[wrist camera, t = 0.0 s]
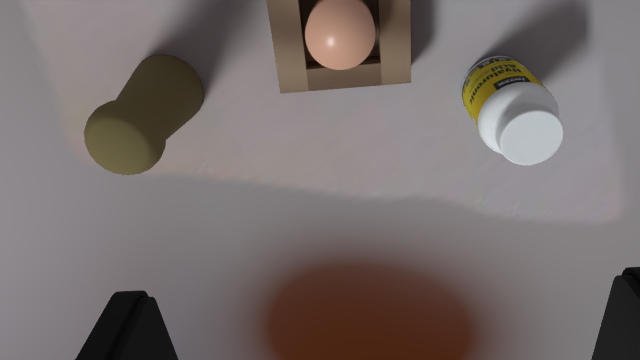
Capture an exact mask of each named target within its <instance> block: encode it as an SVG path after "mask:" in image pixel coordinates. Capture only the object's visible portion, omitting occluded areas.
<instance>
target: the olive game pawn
mask: <svg viewBox="0 0 640 360" xmlns="http://www.w3.org/2000/svg"><path fill="white" fill-rule="evenodd" d="M203 93H204V91H203V87H202V83H201V80H200V78H199V77H198V75H197V74H196V72H195V71H194V70H193V69H192V68H191V67H190V66H189V65H188V64H187V63H186V62H184V61H182V60H180V59H178V58H176V57H173V56H168V55H156V56H151V57H149V58H147V59H145V60H143V61H142V62H141V63H140V64H139V66H138V67H137V68H136V69H135V71H134V72H133V74H132V76H131V77H130V79H129V80H128V82H127V83H126V85H125V86H124V88H123V90H122V91H121V93H120V94H119V96H118V97H117V99H116V100H114V101H110V102H107V103H106V104H104V105H102V106H100V107H98V108H97V109H96V110H95V111H94V112H93V113H92V115H91V116H90V117H89V118H88V121H87V123H86V127H85V130H84V137H85V144H86V147H87V149H88V151H89V154H90V155H91V157H92V158H93V159H94V160H95V161H96V163H98V164H99V165H100V166H102V167H103V168H104V169H106V170H108V171H111V172H113V173H116V174H122V175H134V174H140V173H142V172H144V171H147V170H149V169H150V168H152V167H153V166H154V165H155V164H156V163H157V162H158V161H159V159H160V158H161V156H162V154H163V151H164V149H165V144H166V139H168V138H169V137H170V136H171V135H172V134H173V133H175V132H176V131H177V130H178V129H179V128H180V127H182V126H183V125H184V124H185V123H186V122H187V121H189V120H190V119H191V118H192V117H193V116H194V115H195V114H196V113H197V112H198V111H199V110H200V107H201V105H202V103H203Z"/></svg>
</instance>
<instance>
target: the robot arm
mask: <svg viewBox="0 0 640 360" xmlns="http://www.w3.org/2000/svg"><path fill="white" fill-rule="evenodd" d="M75 360H178V357H177V355H176V352H175V350H174V347H173V344H172V342H171V339H170V337H169V334H168V331H167V329H166V326H165V324H164V321H163V318H162V315H161V313H160V310H159V308H158V305H157V302H156V300H155V298H153V297H149V296H148V295H147V293H146V292H145V291H122V292H116V293H114V294H113V295H112V297H111V299H110V300H109V302H108V304H107V305H106V307H105V309H104V311H103V313H102V314H101V316H100V318H99V319H98V321H97V323H96V325H95V327H94V328H93V330H92V332H91V333H90V335H89V337H88V339H87V340H86V342H85V344H84V346H83V347H82V349H81V351H80V353H79V354H78V356H77V358H76V359H75ZM592 360H640V267H631V268H630V267H629V268H626V269H625V270H624V271H623V273H622V275H620V276H616V277H615V278H614V281H613V284H612V288H611V291H610V295H609V298H608V302H607V306H606V309H605V313H604V316H603V320H602V324H601V327H600V331H599V334H598V338H597V342H596V345H595V349H594V352H593V356H592Z"/></svg>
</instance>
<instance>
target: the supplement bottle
mask: <svg viewBox="0 0 640 360" xmlns="http://www.w3.org/2000/svg"><path fill="white" fill-rule="evenodd" d="M461 96H462V100H463V103H464V106H465V108H466V110H467V112H468V113H469V115H470V117H471V119H472V121H473V123H474V125H475V127H476V129H477V130H478V132H479V134H480V136H481V138H482V139H483V141H484V142H485V143H486V144H487V145H488V146H489V147H490V148H491V149H492V150H494V151H496V152H498V153H501V154H503V155H504V156H505V157H506V158H507V159H508V160H510V161H511V162H513V163H516V164H520V165H533V164H537V163H540V162H542V161H544V160H546V159H548V158H549V157H551V156H552V155H553V154H554V153H555V152H556V151H557V149H558V148H559V146H560V145H561V143H562V140H563V136H564V129H563V125H562V123H561V121H560V119H559V109H558V105H557V102H556V100H555V99H554V97H553V96H552V94H551V93H550V92H549V91H548V90H547V89H546V88H545V87H544V86H543V85H542V84H541V83H540V82H539V81H538V80H537V79H536V78H535V77H534V76H533V75H532V73H531V72H530V71H529V70H528V69H527V68H526V67H525V66H523V65H522V64H521V63H520V62H519V61H517V60H515V59H513V58H511V57H507V56H493V57H489V58H486V59H484V60H482V61H480V62H479V63H477V64H476V65H475V66H473V67H472V68H471V69H470V71H469V72H468V73H467V75H466V76H465V78H464V81H463V83H462V88H461Z"/></svg>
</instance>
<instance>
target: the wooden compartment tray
mask: <svg viewBox="0 0 640 360" xmlns="http://www.w3.org/2000/svg"><path fill="white" fill-rule="evenodd" d="M317 1H318V0H267V6H268V13H269V19H270V26H271V33H272V39H273V46H274V53H275V59H276V66H277V73H278V79H279V86H280V93H291V92H303V91H316V90H328V89H340V88H353V87H365V86H377V85H390V84H402V83H411V0H364V1H365V2H366V4H367V5H368V7H369V8H370V11H371V13H372V17H373V21H374V26H375V42H374V46H373V48H372V50H371V52H370V54H369V55H368V57H367V58H366V59H365V60H364V61H363V62H361V63H360V64H359V65H357V66H355V67H353V68H350V69H345V70H335V69H330V68H327V67H325V66H323V65H321V64H320V63H319V62H317V61H316V60H315V59H314V58H313V56H312V55H311V53H310V52H309V50H308V48H307V44H306V40H305V30H306V25H307V21H308V18H309V14H310V11H311V9H312V7H313V6H314V4H315V3H316V2H317Z"/></svg>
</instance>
